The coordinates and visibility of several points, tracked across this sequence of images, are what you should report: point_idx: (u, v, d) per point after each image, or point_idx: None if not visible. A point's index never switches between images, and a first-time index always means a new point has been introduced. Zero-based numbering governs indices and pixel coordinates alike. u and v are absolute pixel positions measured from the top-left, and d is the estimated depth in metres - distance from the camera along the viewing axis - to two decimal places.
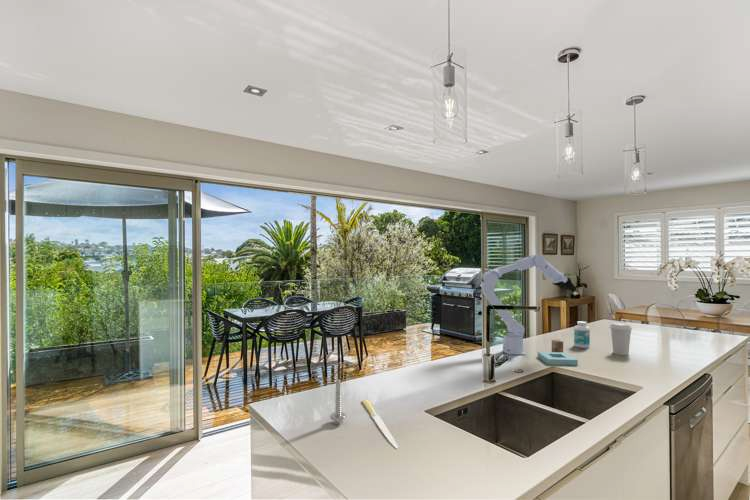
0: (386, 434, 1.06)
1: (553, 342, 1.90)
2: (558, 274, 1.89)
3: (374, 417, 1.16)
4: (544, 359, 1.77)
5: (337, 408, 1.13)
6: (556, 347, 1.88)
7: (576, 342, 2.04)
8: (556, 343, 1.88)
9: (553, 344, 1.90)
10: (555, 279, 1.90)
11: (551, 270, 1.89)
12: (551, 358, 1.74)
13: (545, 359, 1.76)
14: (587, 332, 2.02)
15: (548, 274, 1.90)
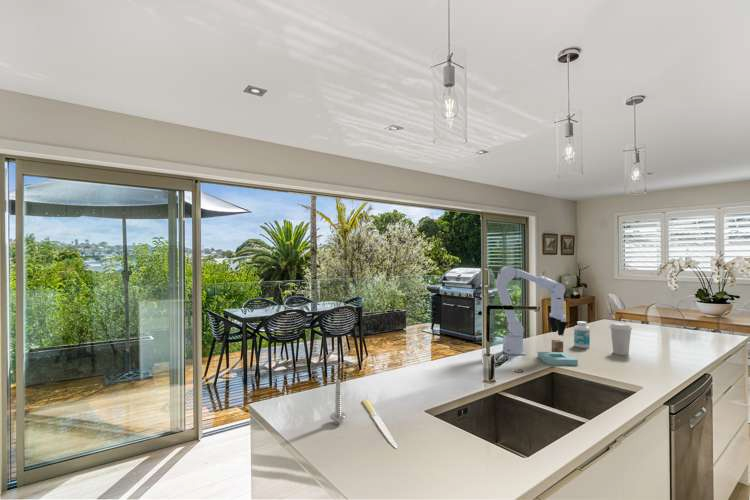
0: (386, 434, 1.06)
1: (553, 342, 1.90)
2: (561, 313, 1.87)
3: (374, 417, 1.16)
4: (544, 359, 1.77)
5: (337, 408, 1.13)
6: (556, 347, 1.88)
7: (576, 342, 2.04)
8: (556, 343, 1.88)
9: (553, 344, 1.90)
10: (555, 314, 1.88)
11: (559, 305, 1.87)
12: (551, 358, 1.74)
13: (545, 359, 1.76)
14: (587, 332, 2.02)
15: (554, 305, 1.88)
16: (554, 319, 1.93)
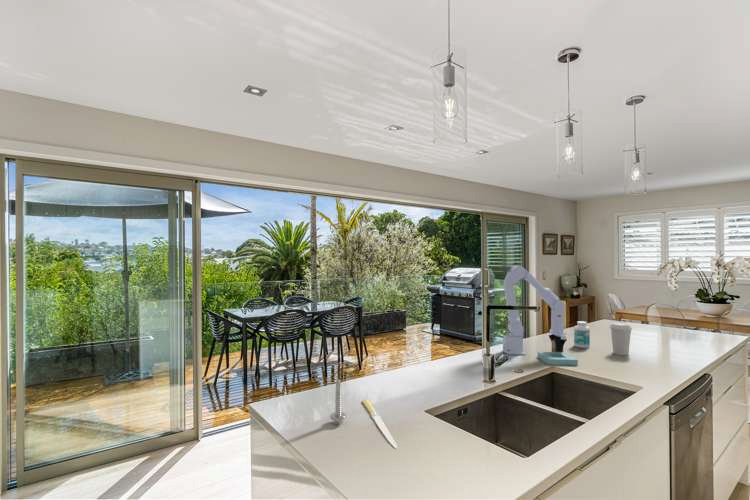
0: (386, 434, 1.06)
1: (553, 342, 1.90)
2: (561, 330, 1.87)
3: (374, 417, 1.16)
4: (544, 359, 1.77)
5: (337, 408, 1.13)
6: None
7: (576, 342, 2.04)
8: None
9: (553, 343, 1.90)
10: (555, 331, 1.88)
11: (559, 322, 1.87)
12: (551, 358, 1.74)
13: (545, 359, 1.76)
14: (587, 332, 2.02)
15: (554, 322, 1.88)
16: (555, 336, 1.92)
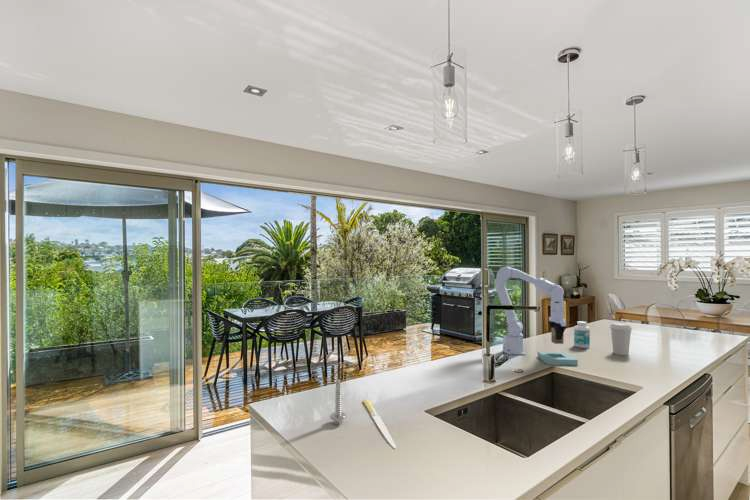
0: (385, 434, 1.06)
1: (553, 330, 1.84)
2: (561, 317, 1.81)
3: (374, 417, 1.16)
4: (544, 359, 1.77)
5: (337, 408, 1.13)
6: None
7: (576, 342, 2.04)
8: None
9: (553, 331, 1.84)
10: (555, 318, 1.82)
11: (557, 308, 1.81)
12: (551, 358, 1.74)
13: (545, 359, 1.76)
14: (587, 332, 2.02)
15: (552, 309, 1.83)
16: (555, 324, 1.86)
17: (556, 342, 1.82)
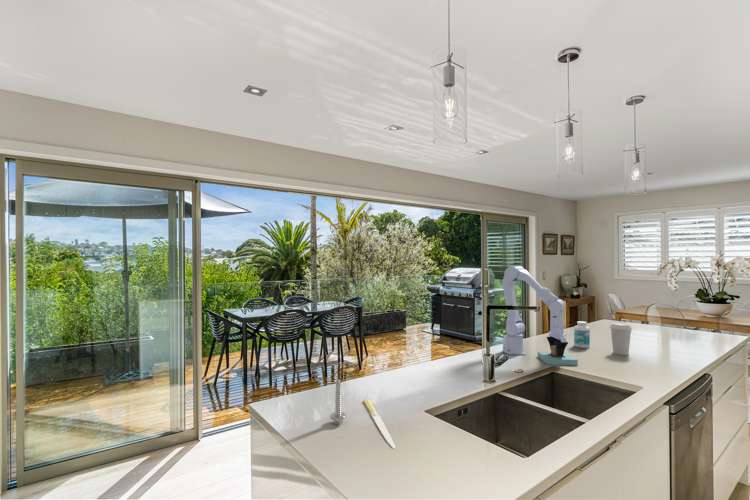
0: (384, 434, 1.06)
1: (553, 348, 1.78)
2: (561, 332, 1.76)
3: (374, 417, 1.16)
4: (544, 359, 1.77)
5: (337, 408, 1.13)
6: (556, 353, 1.76)
7: (576, 342, 2.04)
8: (556, 349, 1.76)
9: (553, 349, 1.78)
10: (555, 333, 1.76)
11: (555, 323, 1.76)
12: (551, 358, 1.74)
13: (545, 359, 1.76)
14: (587, 332, 2.02)
15: (550, 323, 1.79)
16: (553, 338, 1.82)
17: None
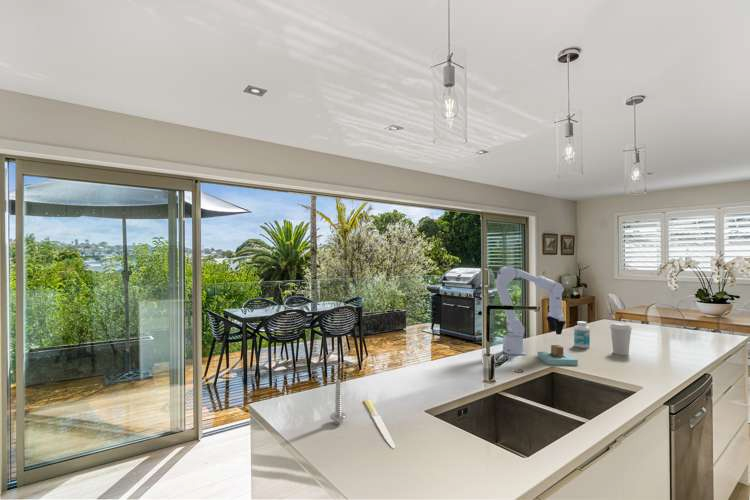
0: (384, 434, 1.06)
1: (553, 348, 1.78)
2: (559, 312, 1.89)
3: (374, 417, 1.16)
4: (544, 359, 1.77)
5: (337, 408, 1.13)
6: (556, 353, 1.76)
7: (576, 342, 2.04)
8: (556, 349, 1.76)
9: (553, 349, 1.78)
10: (553, 313, 1.90)
11: (558, 304, 1.89)
12: (551, 358, 1.74)
13: (545, 359, 1.76)
14: (587, 332, 2.02)
15: (553, 305, 1.90)
16: (552, 318, 1.96)
17: None
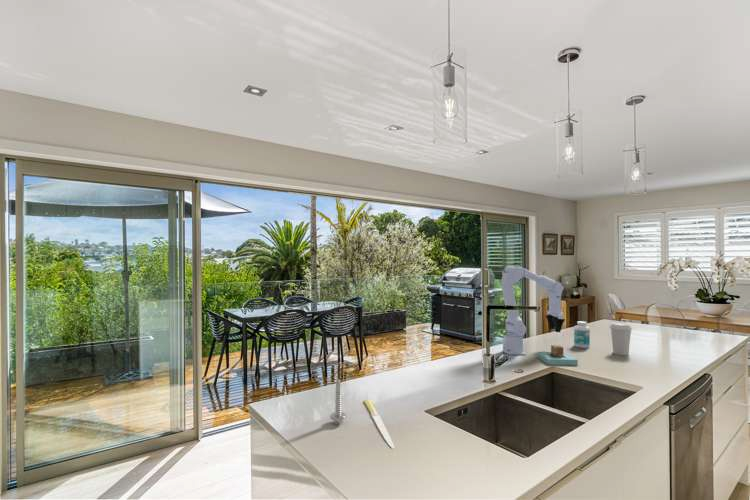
0: (384, 434, 1.06)
1: (553, 348, 1.78)
2: (559, 310, 1.95)
3: (374, 417, 1.16)
4: (544, 359, 1.77)
5: (337, 408, 1.13)
6: (556, 353, 1.76)
7: (576, 342, 2.04)
8: (556, 349, 1.76)
9: (553, 349, 1.78)
10: (553, 311, 1.95)
11: (559, 303, 1.95)
12: (551, 358, 1.74)
13: (545, 359, 1.76)
14: (587, 332, 2.02)
15: (554, 303, 1.95)
16: (552, 316, 2.01)
17: None
